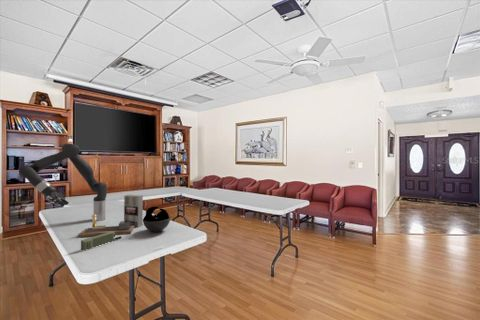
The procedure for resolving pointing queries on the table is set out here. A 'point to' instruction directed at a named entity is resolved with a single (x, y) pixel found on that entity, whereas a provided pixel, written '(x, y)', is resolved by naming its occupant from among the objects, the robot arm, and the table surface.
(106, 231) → the wooden track base
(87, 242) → the handheld radio
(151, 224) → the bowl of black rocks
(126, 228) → the steel keeper
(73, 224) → the table surface
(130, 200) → the cassette tape recorder
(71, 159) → the robot arm
